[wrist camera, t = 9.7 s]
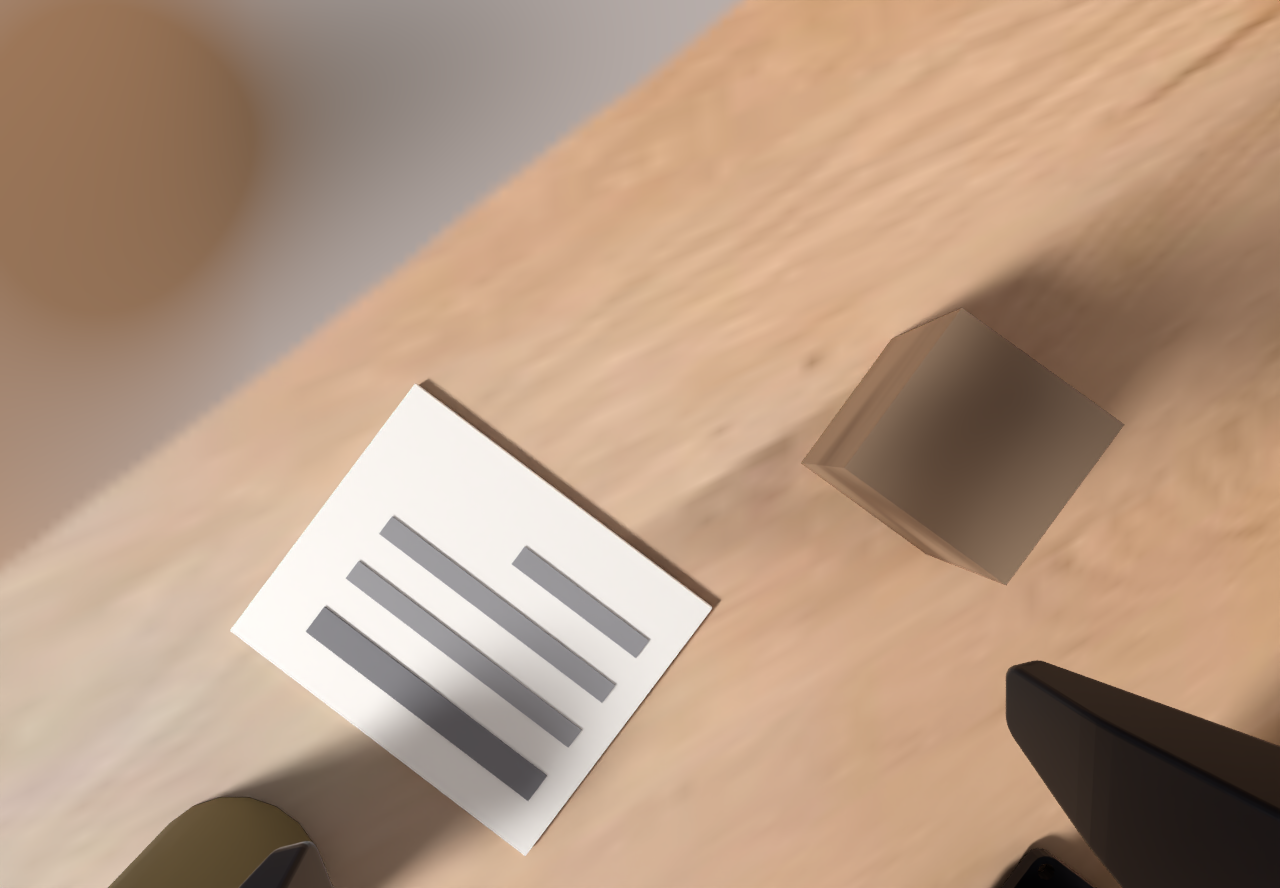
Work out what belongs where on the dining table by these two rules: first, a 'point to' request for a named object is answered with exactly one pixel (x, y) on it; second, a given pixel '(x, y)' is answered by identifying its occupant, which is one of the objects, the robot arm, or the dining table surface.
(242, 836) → the cork
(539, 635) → the letter
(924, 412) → the walnut cube
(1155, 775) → the robot arm
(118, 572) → the dining table surface
